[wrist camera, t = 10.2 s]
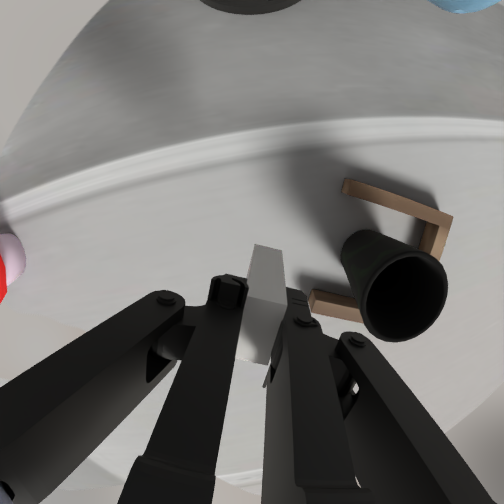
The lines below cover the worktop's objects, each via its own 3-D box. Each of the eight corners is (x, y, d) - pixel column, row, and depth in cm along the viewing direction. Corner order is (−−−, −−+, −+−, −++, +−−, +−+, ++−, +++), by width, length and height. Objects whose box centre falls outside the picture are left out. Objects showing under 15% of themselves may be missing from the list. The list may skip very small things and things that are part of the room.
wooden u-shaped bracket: (344, 178, 30) (352, 179, 28) (440, 212, 31) (453, 216, 28) (308, 300, 34) (311, 312, 31) (400, 320, 35) (409, 332, 32)
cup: (380, 207, 31) (433, 232, 20) (404, 265, 33) (456, 311, 21) (319, 241, 32) (344, 285, 21) (348, 298, 34) (380, 358, 23)
